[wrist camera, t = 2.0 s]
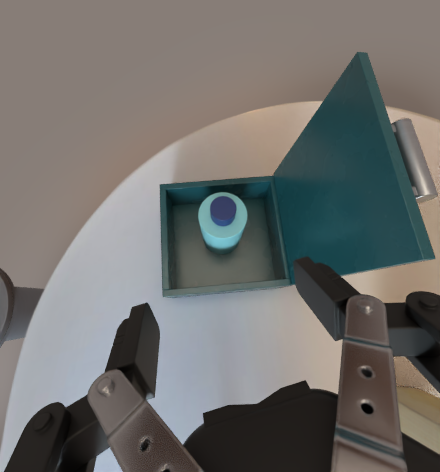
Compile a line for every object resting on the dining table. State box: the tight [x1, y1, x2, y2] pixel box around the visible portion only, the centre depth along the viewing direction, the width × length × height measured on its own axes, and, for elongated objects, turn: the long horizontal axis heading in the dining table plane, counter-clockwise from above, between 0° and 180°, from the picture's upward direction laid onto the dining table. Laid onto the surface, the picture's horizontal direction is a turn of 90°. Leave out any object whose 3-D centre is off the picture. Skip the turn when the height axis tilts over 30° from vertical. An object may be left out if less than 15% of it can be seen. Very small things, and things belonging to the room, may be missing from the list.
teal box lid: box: [274, 52, 438, 285], centre depth 23 cm, size 16×15×5 cm
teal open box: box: [160, 176, 292, 298], centre depth 33 cm, size 16×15×6 cm
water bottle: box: [198, 192, 247, 254], centre depth 31 cm, size 6×6×11 cm
